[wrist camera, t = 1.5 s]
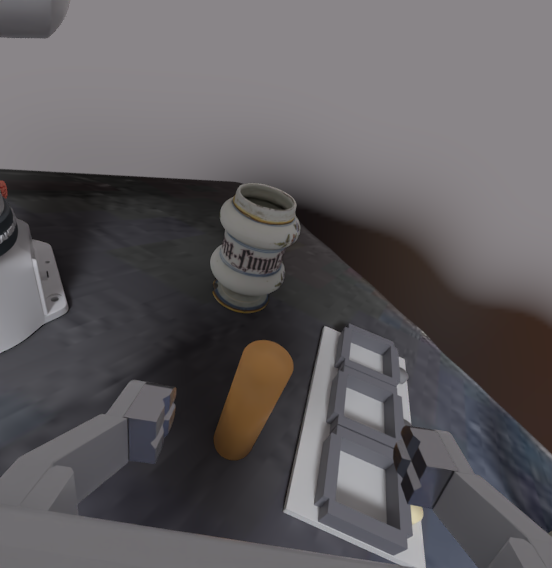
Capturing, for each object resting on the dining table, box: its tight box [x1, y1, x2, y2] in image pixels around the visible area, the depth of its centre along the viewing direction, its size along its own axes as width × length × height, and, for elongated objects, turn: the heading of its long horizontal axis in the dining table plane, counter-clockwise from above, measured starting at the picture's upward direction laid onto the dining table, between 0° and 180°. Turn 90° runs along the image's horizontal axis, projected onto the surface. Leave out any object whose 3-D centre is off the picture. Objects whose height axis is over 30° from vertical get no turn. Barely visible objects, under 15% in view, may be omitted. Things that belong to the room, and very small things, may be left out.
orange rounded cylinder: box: [214, 340, 293, 460], centre depth 30 cm, size 4×4×14 cm
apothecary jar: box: [210, 183, 300, 313], centre depth 48 cm, size 12×12×18 cm
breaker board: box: [283, 324, 426, 568], centre depth 39 cm, size 27×14×4 cm, turn 164°
